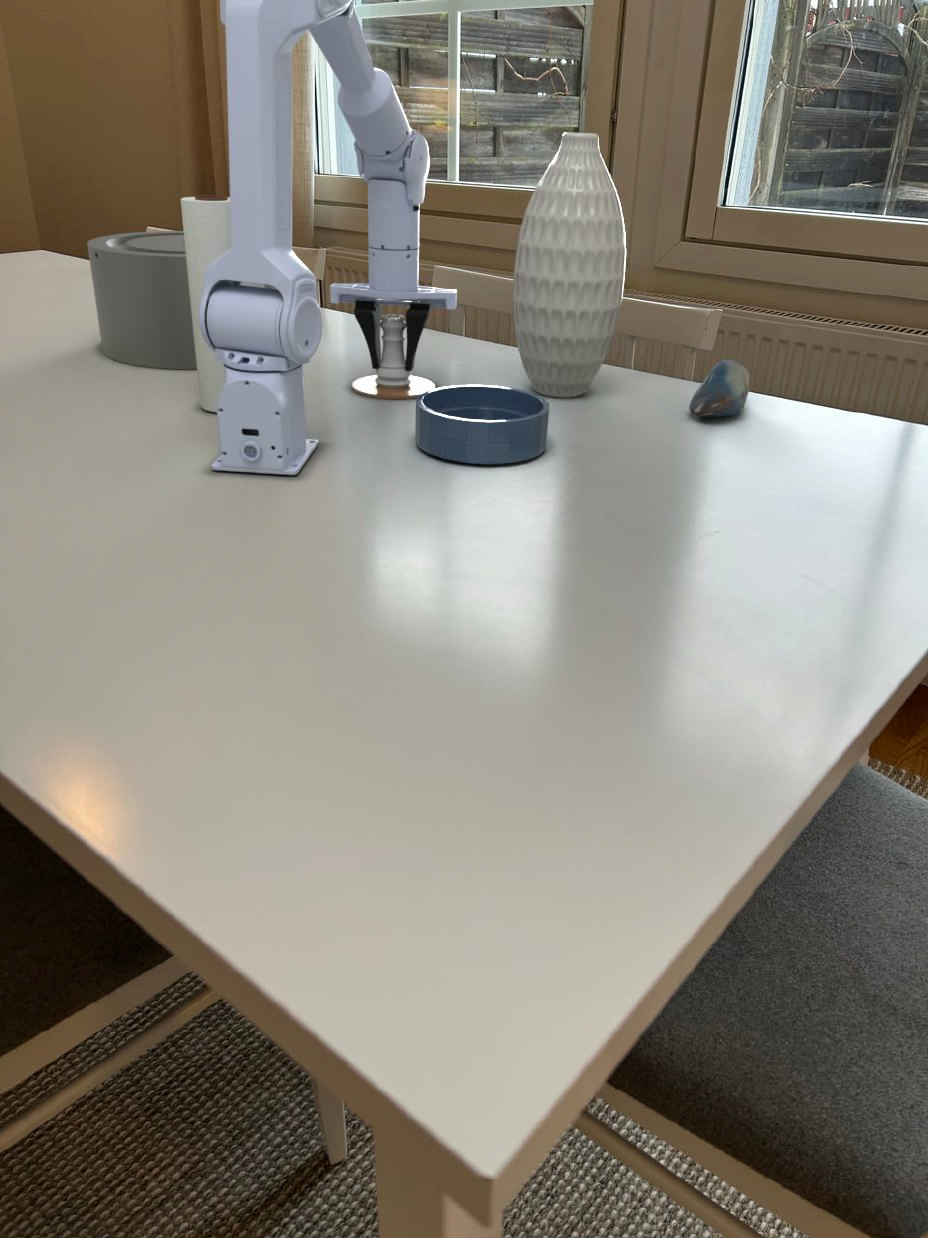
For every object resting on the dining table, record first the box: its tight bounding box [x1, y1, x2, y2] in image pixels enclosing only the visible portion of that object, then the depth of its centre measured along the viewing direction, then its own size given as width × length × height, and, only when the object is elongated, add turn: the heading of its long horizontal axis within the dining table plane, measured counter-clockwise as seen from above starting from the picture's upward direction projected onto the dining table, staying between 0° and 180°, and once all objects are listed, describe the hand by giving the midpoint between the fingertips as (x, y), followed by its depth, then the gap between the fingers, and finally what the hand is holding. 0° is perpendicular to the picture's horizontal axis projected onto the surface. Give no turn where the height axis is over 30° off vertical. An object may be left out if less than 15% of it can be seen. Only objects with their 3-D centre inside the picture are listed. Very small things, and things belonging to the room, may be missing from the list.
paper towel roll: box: [180, 194, 265, 413], centre depth 100 cm, size 7×6×21 cm
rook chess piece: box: [374, 313, 412, 389], centre depth 113 cm, size 4×4×8 cm
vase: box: [512, 131, 627, 399], centre depth 110 cm, size 13×13×28 cm
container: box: [86, 230, 277, 370], centre depth 126 cm, size 25×25×13 cm
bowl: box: [414, 384, 550, 466], centre depth 96 cm, size 13×13×4 cm
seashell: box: [688, 359, 751, 418], centre depth 109 cm, size 6×9×10 cm
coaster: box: [351, 374, 436, 400], centre depth 115 cm, size 10×10×1 cm
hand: (393, 367), depth 114 cm, fingers closed on rook chess piece, 3 cm apart
